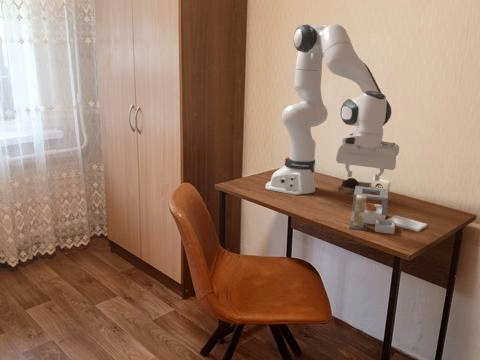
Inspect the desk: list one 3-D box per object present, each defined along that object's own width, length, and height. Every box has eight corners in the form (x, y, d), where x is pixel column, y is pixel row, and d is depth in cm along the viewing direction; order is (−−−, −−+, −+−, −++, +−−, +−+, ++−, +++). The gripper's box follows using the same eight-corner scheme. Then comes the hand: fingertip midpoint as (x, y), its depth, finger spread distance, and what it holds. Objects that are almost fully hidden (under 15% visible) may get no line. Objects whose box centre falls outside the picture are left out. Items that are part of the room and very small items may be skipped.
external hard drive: (395, 218, 181) (427, 227, 172) (385, 223, 175) (417, 233, 167) (396, 214, 180) (427, 223, 172) (386, 219, 174) (418, 228, 166)
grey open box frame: (350, 221, 174) (353, 194, 171) (352, 211, 185) (355, 185, 182) (384, 225, 171) (387, 198, 168) (384, 215, 182) (387, 189, 179)
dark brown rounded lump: (360, 190, 214) (361, 175, 212) (357, 195, 207) (358, 179, 205) (342, 187, 217) (344, 172, 215) (339, 192, 210) (340, 176, 208)
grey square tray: (374, 231, 165) (375, 224, 164) (375, 225, 171) (375, 218, 170) (393, 234, 163) (394, 227, 163) (393, 227, 169) (394, 221, 169)
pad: (349, 228, 167) (349, 227, 166) (350, 223, 172) (350, 221, 172) (366, 231, 165) (366, 229, 165) (367, 225, 171) (367, 224, 170)
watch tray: (337, 192, 208) (338, 187, 208) (340, 184, 221) (341, 179, 221) (370, 196, 205) (370, 191, 204) (371, 188, 218) (371, 182, 217)
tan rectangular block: (352, 226, 167) (356, 197, 164) (353, 223, 171) (356, 194, 168) (362, 227, 166) (366, 198, 163) (363, 224, 170) (366, 195, 167)
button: (363, 215, 176) (364, 205, 175) (363, 212, 180) (364, 202, 179) (373, 216, 175) (374, 206, 174) (373, 213, 179) (374, 203, 178)
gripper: (399, 141, 160) (393, 180, 164) (339, 134, 165) (335, 172, 169) (400, 145, 154) (394, 184, 158) (338, 138, 160) (333, 176, 164)
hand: (363, 178), depth 164 cm, fingers open, 8 cm apart
